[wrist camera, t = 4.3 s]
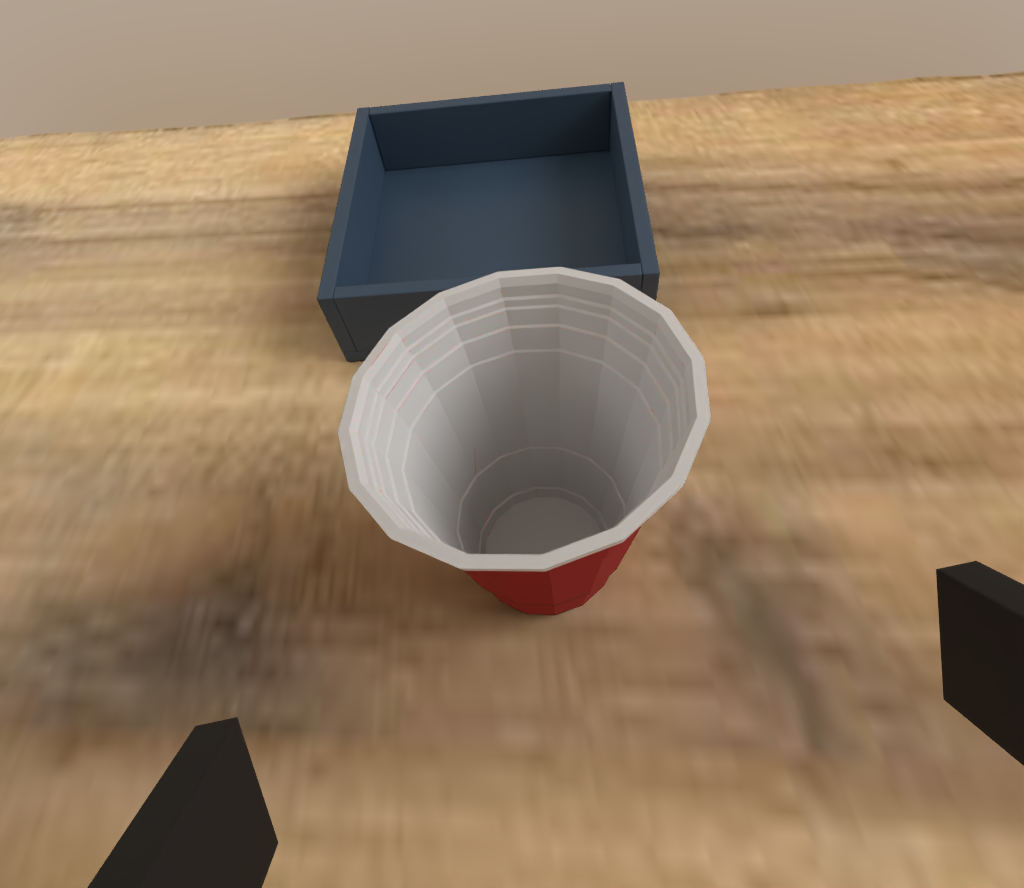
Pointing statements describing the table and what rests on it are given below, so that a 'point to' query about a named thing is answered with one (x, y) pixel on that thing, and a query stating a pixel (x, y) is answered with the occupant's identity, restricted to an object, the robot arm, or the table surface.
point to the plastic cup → (526, 429)
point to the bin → (482, 202)
